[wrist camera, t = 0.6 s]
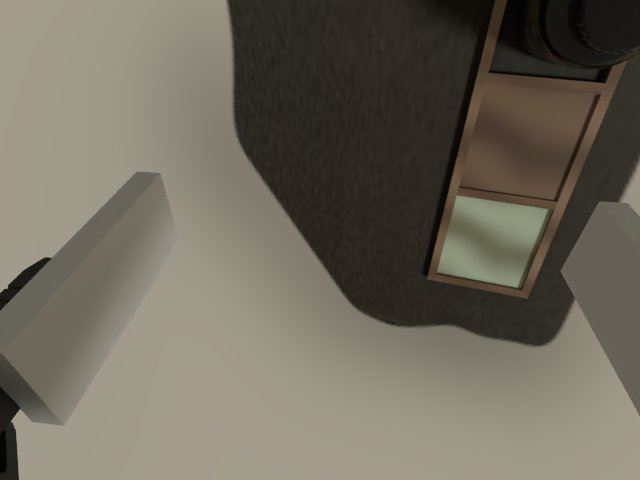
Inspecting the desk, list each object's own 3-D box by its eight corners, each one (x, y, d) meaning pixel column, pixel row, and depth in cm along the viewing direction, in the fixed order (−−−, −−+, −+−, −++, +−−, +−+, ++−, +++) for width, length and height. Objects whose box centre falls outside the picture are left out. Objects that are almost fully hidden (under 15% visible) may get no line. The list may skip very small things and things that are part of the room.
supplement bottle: (610, 53, 29) (705, 68, 19) (511, 68, 31) (548, 88, 21) (628, -58, 26) (751, -111, 16) (516, -33, 28) (563, -67, 18)
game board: (515, -84, 27) (516, -86, 26) (682, -81, 25) (687, -84, 24) (427, 276, 42) (427, 279, 42) (526, 295, 40) (527, 298, 40)
